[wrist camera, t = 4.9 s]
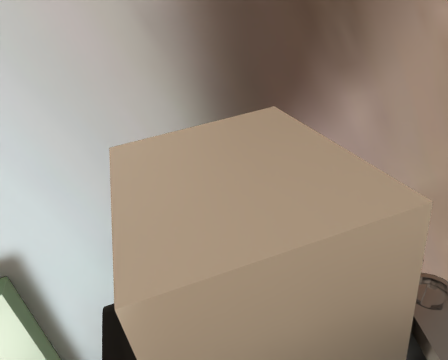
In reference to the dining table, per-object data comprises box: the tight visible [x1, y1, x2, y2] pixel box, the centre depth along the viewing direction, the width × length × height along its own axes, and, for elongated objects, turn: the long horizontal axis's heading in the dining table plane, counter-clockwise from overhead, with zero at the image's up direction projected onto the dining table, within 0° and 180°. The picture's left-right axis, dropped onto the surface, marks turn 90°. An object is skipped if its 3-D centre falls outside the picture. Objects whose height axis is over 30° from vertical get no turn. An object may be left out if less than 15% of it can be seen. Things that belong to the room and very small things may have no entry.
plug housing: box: [109, 106, 433, 360], centre depth 10 cm, size 5×9×6 cm, turn 8°
